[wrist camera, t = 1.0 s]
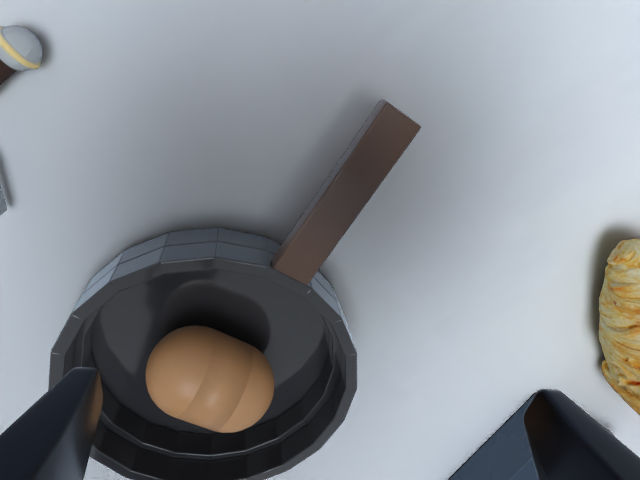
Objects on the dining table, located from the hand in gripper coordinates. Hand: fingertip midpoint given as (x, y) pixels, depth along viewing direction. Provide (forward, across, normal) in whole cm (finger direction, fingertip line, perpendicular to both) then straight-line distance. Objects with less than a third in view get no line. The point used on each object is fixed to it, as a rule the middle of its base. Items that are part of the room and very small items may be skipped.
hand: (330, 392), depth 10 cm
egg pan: (+12, +3, +12) cm, 17 cm away
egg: (+12, +3, +12) cm, 17 cm away
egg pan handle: (+11, -2, +1) cm, 12 cm away
